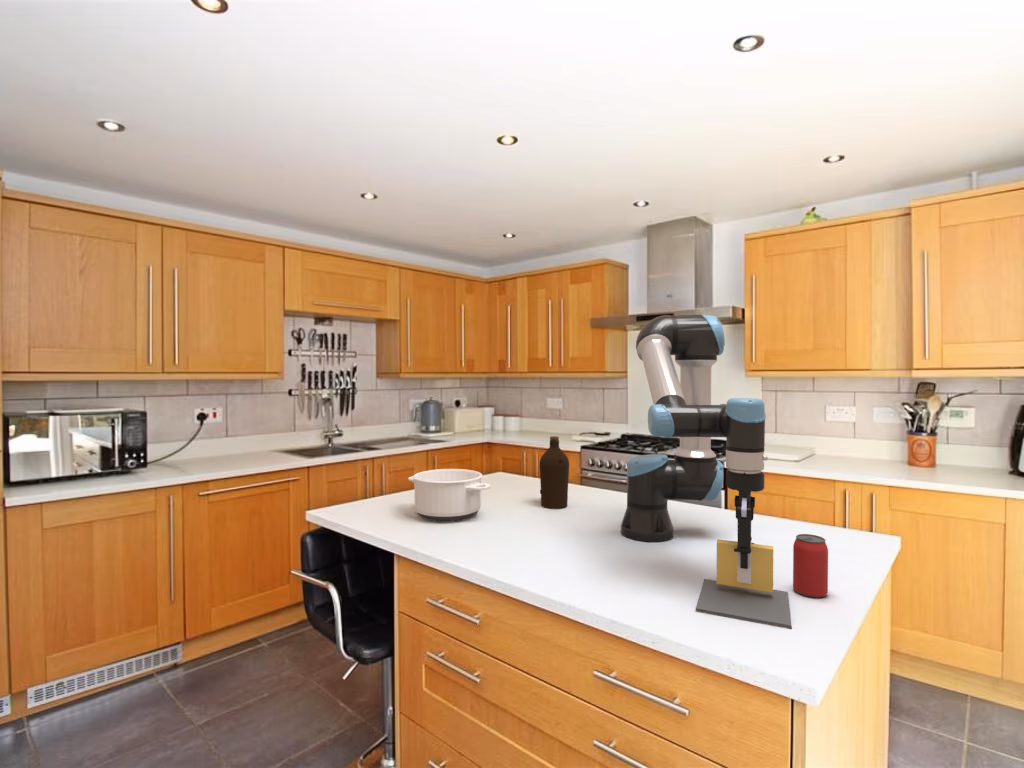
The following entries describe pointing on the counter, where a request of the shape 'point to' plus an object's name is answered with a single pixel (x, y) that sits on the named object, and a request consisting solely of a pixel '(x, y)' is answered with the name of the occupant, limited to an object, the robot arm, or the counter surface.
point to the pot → (448, 494)
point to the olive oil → (554, 476)
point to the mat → (745, 604)
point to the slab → (759, 566)
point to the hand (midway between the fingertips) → (744, 579)
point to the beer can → (810, 566)
